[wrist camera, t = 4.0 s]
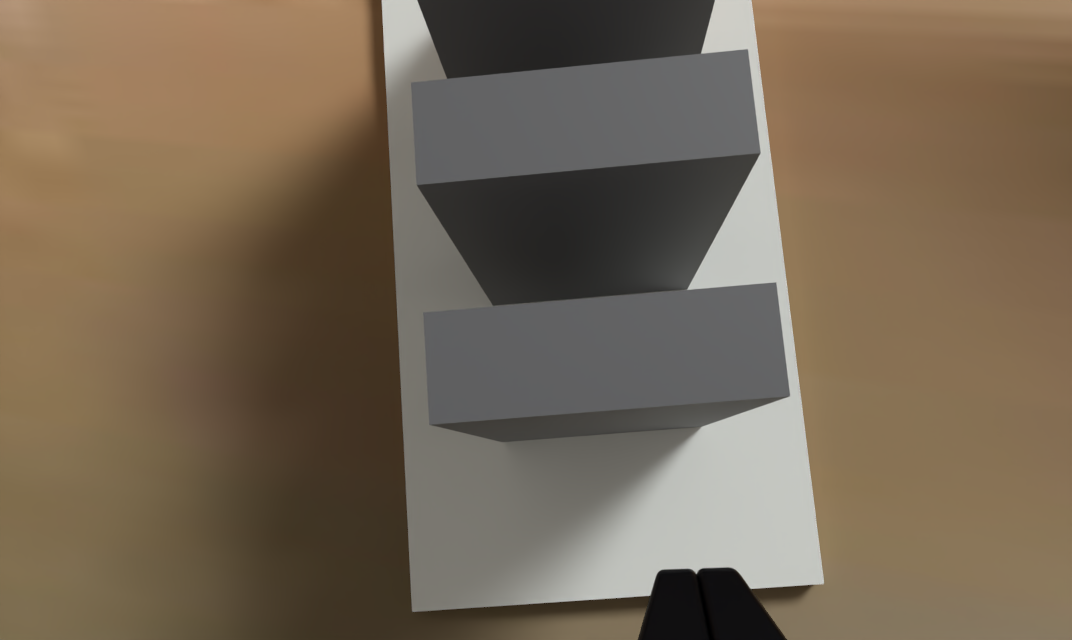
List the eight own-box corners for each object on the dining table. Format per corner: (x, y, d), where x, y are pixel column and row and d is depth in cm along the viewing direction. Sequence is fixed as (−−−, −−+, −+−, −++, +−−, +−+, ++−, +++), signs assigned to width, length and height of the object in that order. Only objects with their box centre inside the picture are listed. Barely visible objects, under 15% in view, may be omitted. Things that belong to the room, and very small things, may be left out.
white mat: (817, 580, 22) (824, 584, 21) (417, 607, 22) (412, 612, 22) (727, -147, 25) (731, -162, 24) (380, -109, 26) (375, -122, 25)
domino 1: (673, 158, 23) (733, -69, 13) (484, 175, 23) (404, -34, 14) (667, 100, 23) (721, -164, 14) (479, 118, 24) (398, -129, 14)
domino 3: (702, 426, 22) (790, 396, 12) (502, 442, 22) (429, 425, 12) (694, 362, 22) (775, 282, 12) (497, 378, 22) (423, 313, 13)
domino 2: (687, 289, 23) (760, 153, 13) (493, 305, 23) (416, 184, 13) (680, 228, 23) (748, 49, 13) (488, 245, 23) (410, 82, 13)
